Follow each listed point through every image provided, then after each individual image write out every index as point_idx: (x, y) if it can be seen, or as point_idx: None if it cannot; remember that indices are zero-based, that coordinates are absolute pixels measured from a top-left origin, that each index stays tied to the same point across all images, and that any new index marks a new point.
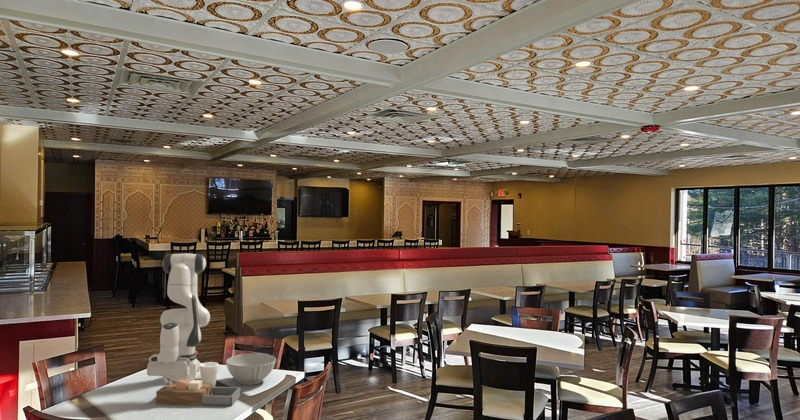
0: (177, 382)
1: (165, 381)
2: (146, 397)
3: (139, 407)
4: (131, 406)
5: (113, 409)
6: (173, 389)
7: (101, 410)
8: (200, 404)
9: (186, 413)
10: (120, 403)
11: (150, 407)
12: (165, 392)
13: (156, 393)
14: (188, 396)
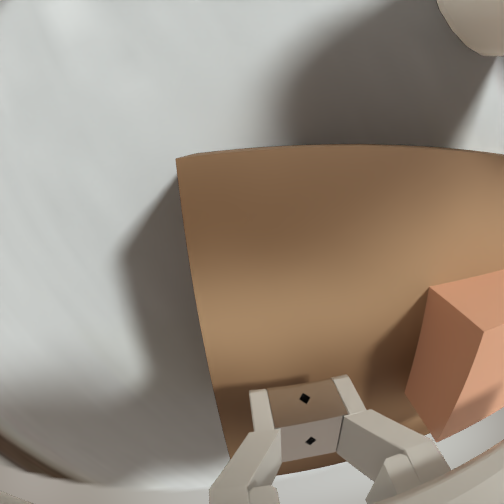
0: (451, 429)
1: (275, 465)
2: (52, 282)
3: (164, 445)
4: (107, 436)
5: (67, 458)
6: (384, 411)
7: (38, 459)
8: None
9: None
10: (17, 396)
11: None
12: (324, 460)
13: None
14: None
